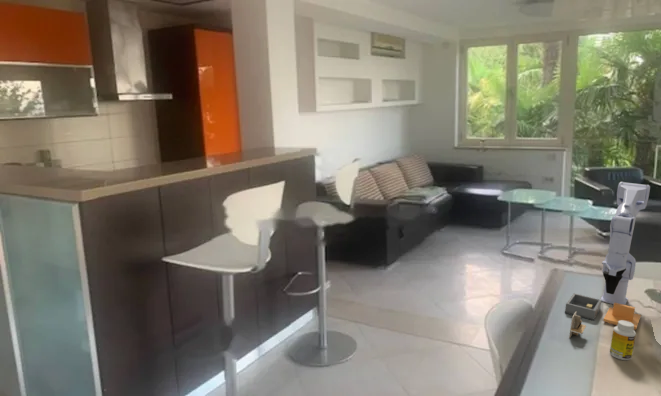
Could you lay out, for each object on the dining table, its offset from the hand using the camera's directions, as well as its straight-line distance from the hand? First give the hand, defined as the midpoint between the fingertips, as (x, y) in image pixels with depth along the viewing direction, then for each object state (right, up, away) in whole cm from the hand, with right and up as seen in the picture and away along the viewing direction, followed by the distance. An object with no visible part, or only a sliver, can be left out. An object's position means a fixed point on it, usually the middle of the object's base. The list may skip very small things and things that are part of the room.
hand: (611, 289), depth 169 cm
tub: (-7, -8, +5) cm, 12 cm away
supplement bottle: (-12, -15, -25) cm, 31 cm away
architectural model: (-19, -12, -14) cm, 27 cm away
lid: (+2, -10, -2) cm, 11 cm away
